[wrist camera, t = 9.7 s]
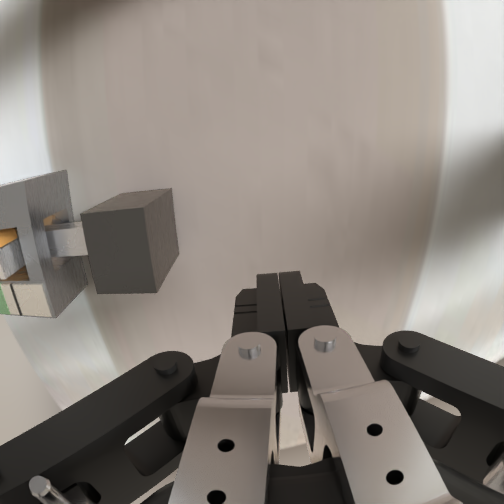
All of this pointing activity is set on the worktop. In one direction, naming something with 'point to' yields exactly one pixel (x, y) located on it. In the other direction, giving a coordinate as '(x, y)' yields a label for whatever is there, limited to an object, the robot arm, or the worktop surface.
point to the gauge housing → (39, 247)
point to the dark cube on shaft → (115, 242)
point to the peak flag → (7, 236)
